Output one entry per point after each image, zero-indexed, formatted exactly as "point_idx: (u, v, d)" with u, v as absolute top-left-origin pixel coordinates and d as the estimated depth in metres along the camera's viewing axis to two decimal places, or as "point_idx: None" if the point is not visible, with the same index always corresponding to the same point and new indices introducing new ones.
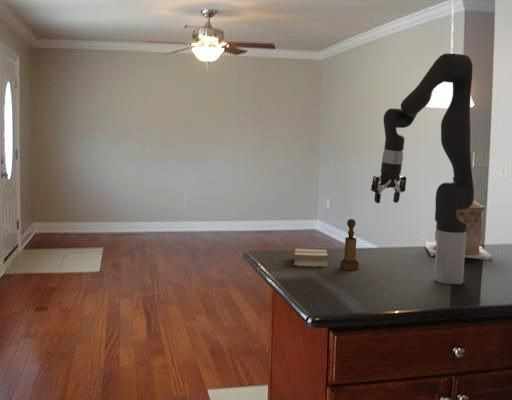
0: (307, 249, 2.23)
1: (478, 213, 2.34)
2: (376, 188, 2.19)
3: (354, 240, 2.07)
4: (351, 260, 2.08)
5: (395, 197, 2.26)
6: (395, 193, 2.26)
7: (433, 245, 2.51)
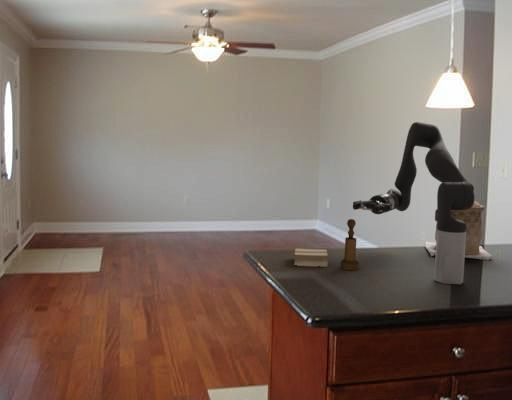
0: (307, 249, 2.23)
1: (478, 213, 2.34)
2: (356, 201, 2.25)
3: (354, 240, 2.07)
4: (351, 260, 2.08)
5: None
6: None
7: (433, 245, 2.51)
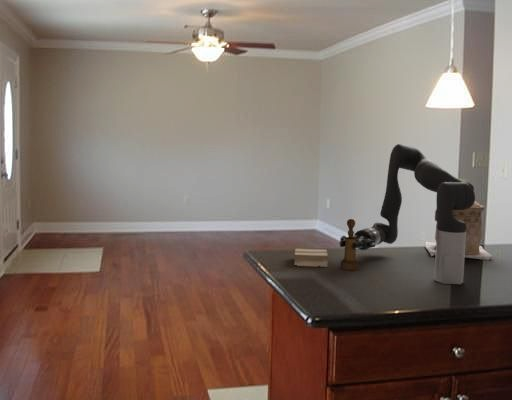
0: (307, 249, 2.23)
1: (478, 213, 2.34)
2: (342, 237, 2.14)
3: (354, 240, 2.07)
4: (351, 259, 2.08)
5: None
6: None
7: (433, 245, 2.51)
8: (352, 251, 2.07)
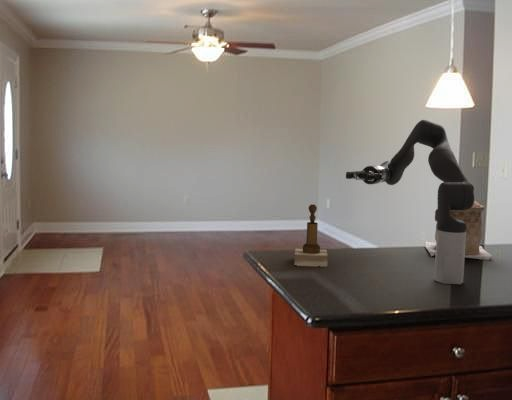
0: None
1: (478, 213, 2.34)
2: (349, 172, 2.34)
3: (315, 224, 2.15)
4: (312, 243, 2.15)
5: None
6: None
7: (433, 245, 2.51)
8: (313, 235, 2.15)
